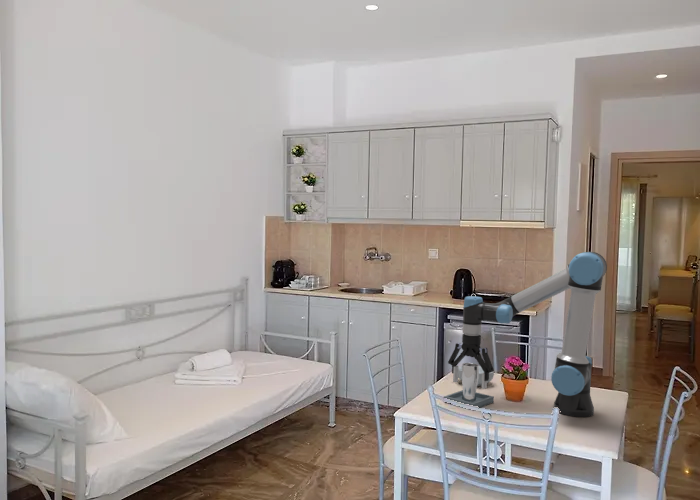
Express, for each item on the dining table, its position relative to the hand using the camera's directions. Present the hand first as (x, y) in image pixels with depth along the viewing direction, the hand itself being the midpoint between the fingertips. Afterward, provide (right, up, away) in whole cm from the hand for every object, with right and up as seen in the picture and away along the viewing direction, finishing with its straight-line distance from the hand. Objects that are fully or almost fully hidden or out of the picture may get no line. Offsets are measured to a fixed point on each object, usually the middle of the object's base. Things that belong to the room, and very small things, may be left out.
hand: (469, 385), depth 252 cm
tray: (0, -7, 0) cm, 7 cm away
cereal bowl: (+8, -6, +30) cm, 32 cm away
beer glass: (0, -7, 0) cm, 7 cm away
